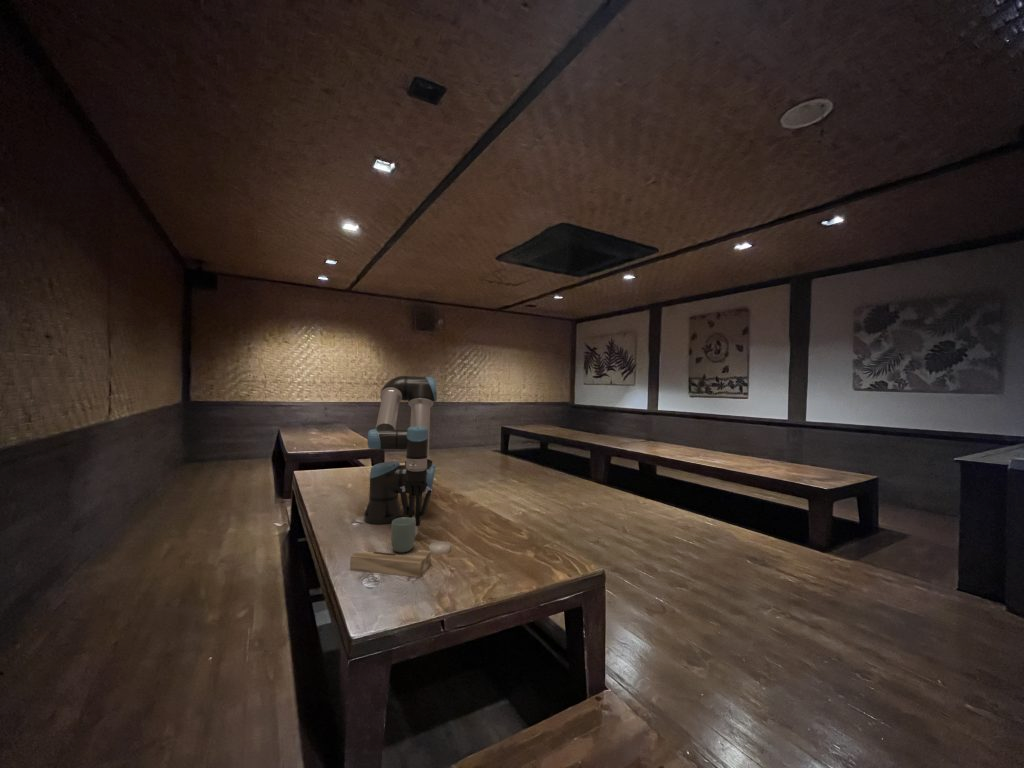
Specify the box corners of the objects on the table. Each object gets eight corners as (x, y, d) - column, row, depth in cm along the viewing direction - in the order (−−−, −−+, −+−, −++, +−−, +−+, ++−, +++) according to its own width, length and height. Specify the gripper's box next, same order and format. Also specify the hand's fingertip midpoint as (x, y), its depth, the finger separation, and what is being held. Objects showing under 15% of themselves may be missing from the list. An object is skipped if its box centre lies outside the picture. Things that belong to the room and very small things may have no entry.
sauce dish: (433, 546, 139) (433, 540, 139) (452, 548, 138) (452, 542, 138) (426, 554, 132) (426, 548, 132) (446, 556, 131) (446, 550, 131)
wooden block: (365, 557, 127) (366, 544, 127) (430, 564, 124) (431, 550, 124) (350, 569, 118) (350, 555, 118) (419, 577, 115) (420, 562, 115)
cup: (408, 556, 129) (409, 525, 129) (386, 553, 131) (387, 523, 131) (418, 547, 137) (419, 518, 137) (397, 544, 138) (398, 516, 138)
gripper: (394, 470, 141) (392, 536, 140) (429, 472, 139) (427, 539, 138) (403, 466, 148) (401, 529, 148) (437, 468, 146) (435, 532, 146)
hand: (414, 534), depth 143 cm, fingers closed
